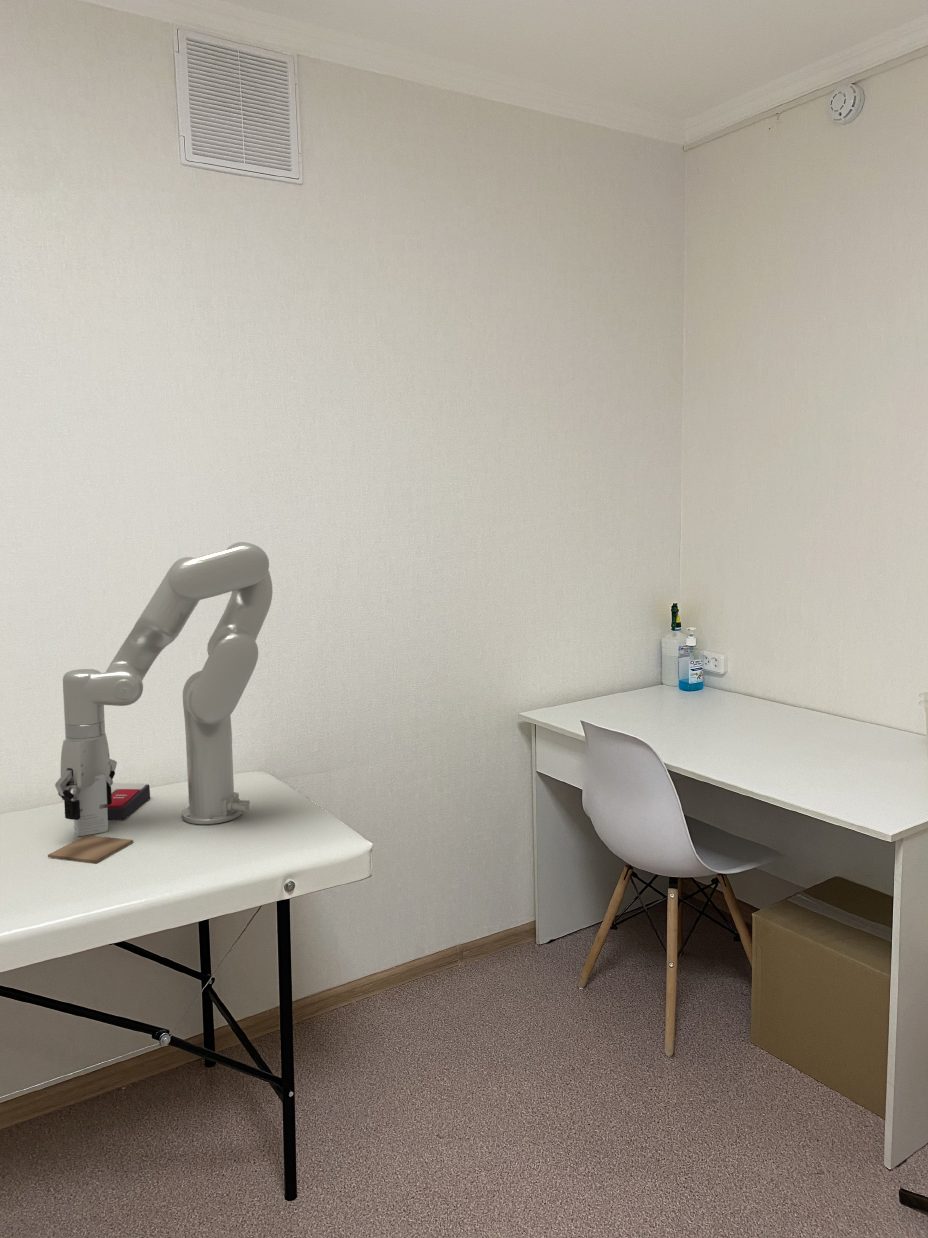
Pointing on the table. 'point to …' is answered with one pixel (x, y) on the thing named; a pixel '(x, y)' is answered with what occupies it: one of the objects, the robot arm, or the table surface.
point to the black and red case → (126, 799)
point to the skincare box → (93, 808)
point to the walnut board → (91, 849)
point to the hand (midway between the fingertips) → (89, 811)
